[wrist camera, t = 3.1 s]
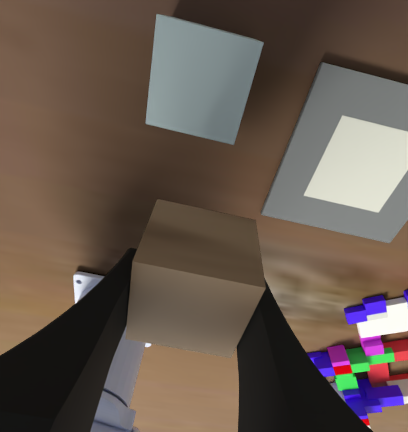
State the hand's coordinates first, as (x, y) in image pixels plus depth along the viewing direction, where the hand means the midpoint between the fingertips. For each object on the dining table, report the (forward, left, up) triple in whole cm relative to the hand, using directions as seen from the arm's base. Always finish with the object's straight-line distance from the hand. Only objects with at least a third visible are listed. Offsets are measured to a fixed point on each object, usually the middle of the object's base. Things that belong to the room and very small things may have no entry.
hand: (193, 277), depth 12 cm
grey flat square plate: (+4, -9, -9) cm, 14 cm away
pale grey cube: (+7, +2, -9) cm, 11 cm away
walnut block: (0, 0, -2) cm, 2 cm away
